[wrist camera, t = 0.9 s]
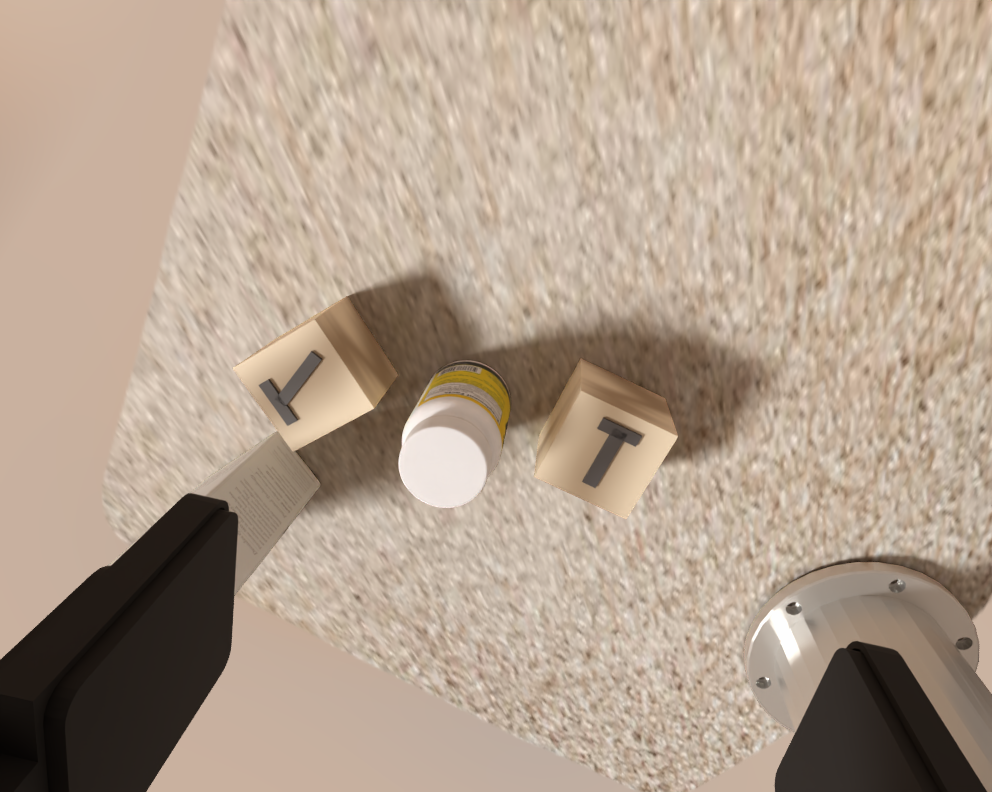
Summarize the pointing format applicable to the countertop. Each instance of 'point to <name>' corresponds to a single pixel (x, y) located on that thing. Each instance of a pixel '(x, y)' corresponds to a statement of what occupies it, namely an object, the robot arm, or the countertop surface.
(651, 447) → the digit block one
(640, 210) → the countertop surface
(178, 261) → the countertop surface
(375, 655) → the countertop surface
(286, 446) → the skincare box
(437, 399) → the supplement bottle
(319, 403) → the digit block seven
